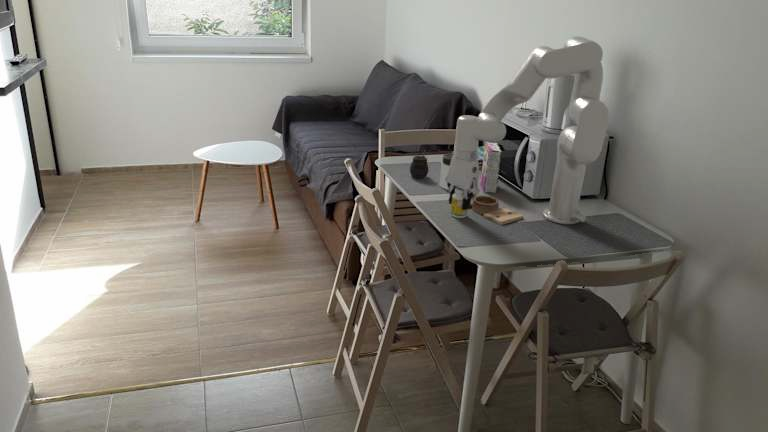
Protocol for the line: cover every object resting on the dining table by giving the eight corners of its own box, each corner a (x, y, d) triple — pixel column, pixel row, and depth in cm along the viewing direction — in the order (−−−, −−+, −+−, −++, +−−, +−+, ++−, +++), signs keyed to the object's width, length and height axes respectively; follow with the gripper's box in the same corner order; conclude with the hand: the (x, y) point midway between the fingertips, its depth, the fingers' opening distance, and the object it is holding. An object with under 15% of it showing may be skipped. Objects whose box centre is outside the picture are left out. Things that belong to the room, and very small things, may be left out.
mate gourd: (407, 178, 247) (409, 153, 243) (412, 172, 254) (414, 148, 250) (425, 181, 245) (427, 156, 241) (429, 175, 252) (431, 151, 248)
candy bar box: (479, 182, 247) (484, 141, 241) (492, 183, 247) (497, 142, 241) (483, 192, 237) (488, 150, 231) (496, 193, 237) (502, 151, 231)
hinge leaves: (522, 218, 215) (524, 208, 214) (501, 224, 209) (502, 215, 207) (470, 195, 233) (471, 186, 232) (448, 201, 226) (449, 191, 225)
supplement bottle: (467, 218, 212) (470, 191, 208) (451, 217, 212) (453, 190, 208) (465, 212, 217) (468, 186, 213) (449, 211, 217) (452, 185, 213)
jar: (457, 192, 235) (461, 161, 231) (436, 188, 238) (439, 157, 234) (464, 185, 243) (468, 155, 239) (444, 181, 246) (447, 151, 241)
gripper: (492, 159, 202) (485, 212, 209) (454, 145, 215) (449, 196, 221) (476, 163, 198) (469, 216, 205) (438, 148, 210) (433, 200, 217)
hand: (459, 205), depth 213 cm, fingers closed on supplement bottle, 5 cm apart
